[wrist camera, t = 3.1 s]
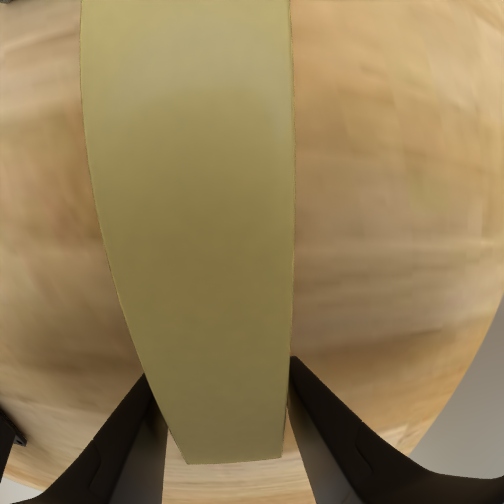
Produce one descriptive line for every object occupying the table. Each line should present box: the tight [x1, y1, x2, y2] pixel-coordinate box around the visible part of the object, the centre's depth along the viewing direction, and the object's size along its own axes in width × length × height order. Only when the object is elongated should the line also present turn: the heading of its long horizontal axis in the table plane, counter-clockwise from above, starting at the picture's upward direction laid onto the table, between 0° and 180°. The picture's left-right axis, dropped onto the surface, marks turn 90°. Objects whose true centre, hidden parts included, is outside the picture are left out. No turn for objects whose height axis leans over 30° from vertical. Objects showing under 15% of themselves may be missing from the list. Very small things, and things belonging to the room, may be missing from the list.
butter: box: [80, 0, 295, 464], centre depth 7 cm, size 14×3×3 cm, turn 2°
